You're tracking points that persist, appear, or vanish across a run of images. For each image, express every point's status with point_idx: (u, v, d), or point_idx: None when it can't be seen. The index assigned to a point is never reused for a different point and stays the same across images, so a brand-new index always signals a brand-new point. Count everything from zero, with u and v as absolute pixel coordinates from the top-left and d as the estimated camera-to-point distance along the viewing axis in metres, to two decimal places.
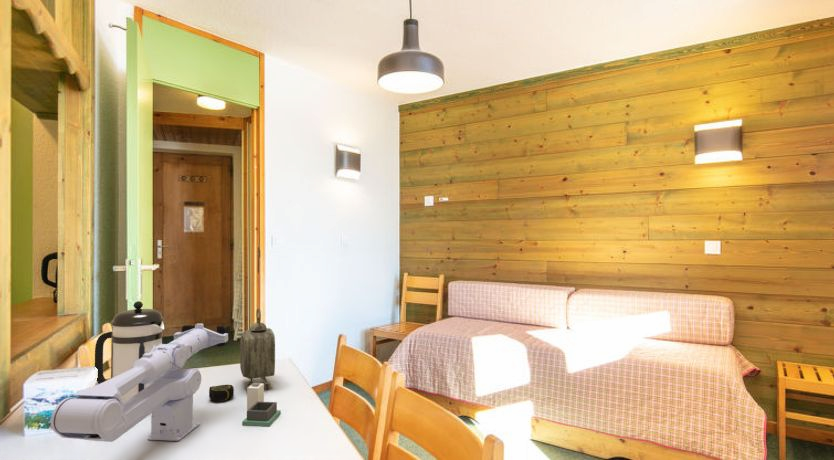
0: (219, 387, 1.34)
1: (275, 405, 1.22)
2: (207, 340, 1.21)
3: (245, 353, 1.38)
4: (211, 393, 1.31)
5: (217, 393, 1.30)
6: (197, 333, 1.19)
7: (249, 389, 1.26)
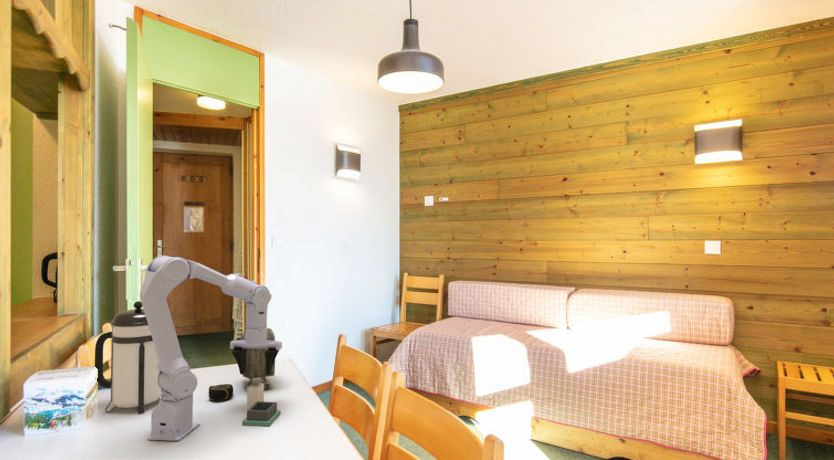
0: (218, 386, 1.34)
1: (275, 405, 1.22)
2: (265, 339, 1.28)
3: None
4: (210, 392, 1.32)
5: (216, 392, 1.31)
6: None
7: (249, 389, 1.26)
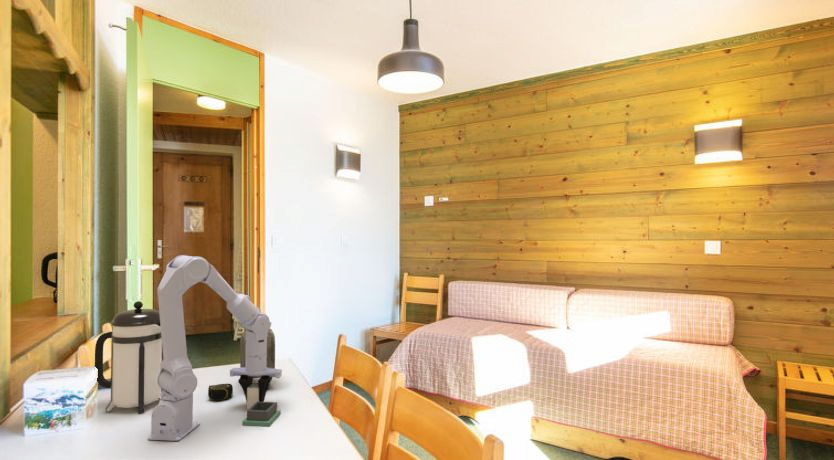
0: (218, 386, 1.35)
1: (275, 405, 1.22)
2: (265, 367, 1.28)
3: (245, 353, 1.38)
4: (210, 392, 1.32)
5: (216, 392, 1.31)
6: None
7: (249, 389, 1.27)
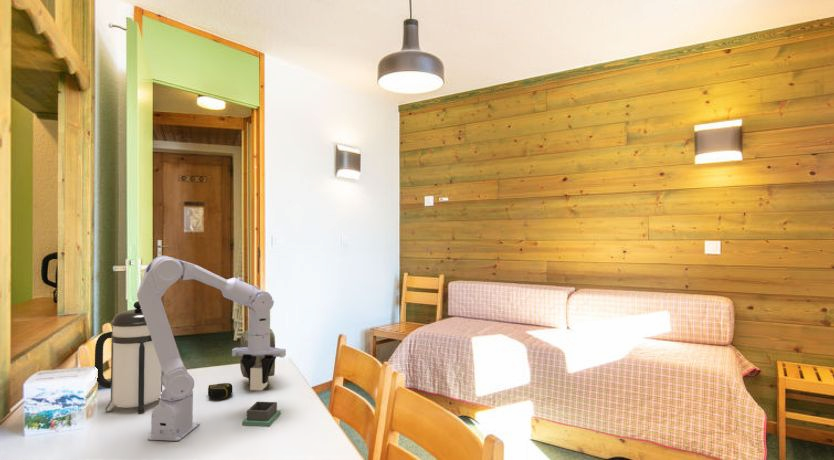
0: (218, 385, 1.35)
1: (275, 405, 1.22)
2: (268, 346, 1.24)
3: None
4: (210, 391, 1.32)
5: (216, 391, 1.32)
6: None
7: (252, 369, 1.23)
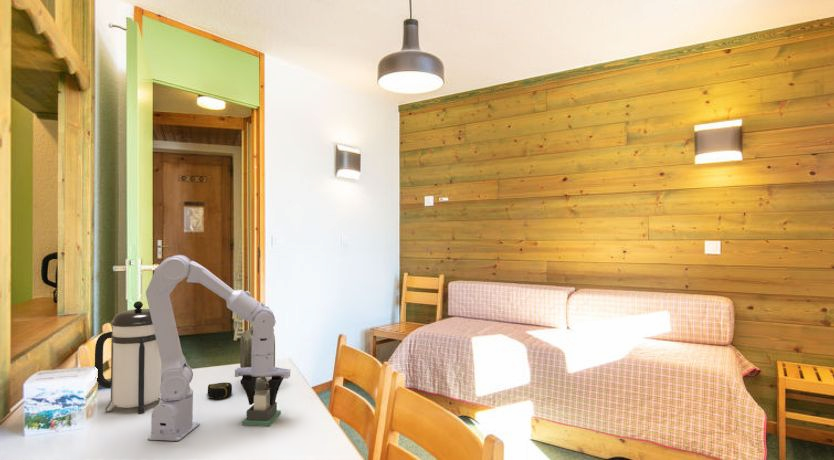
0: (217, 385, 1.36)
1: (275, 405, 1.22)
2: (272, 366, 1.19)
3: (245, 353, 1.38)
4: (209, 391, 1.33)
5: (215, 391, 1.32)
6: None
7: (256, 397, 1.18)
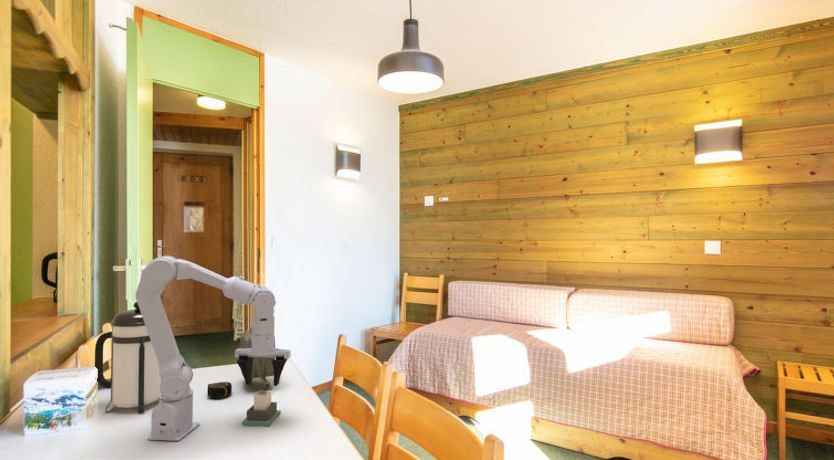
0: (217, 384, 1.36)
1: (275, 405, 1.22)
2: (272, 347, 1.19)
3: None
4: (209, 390, 1.33)
5: (215, 390, 1.33)
6: None
7: (256, 397, 1.18)
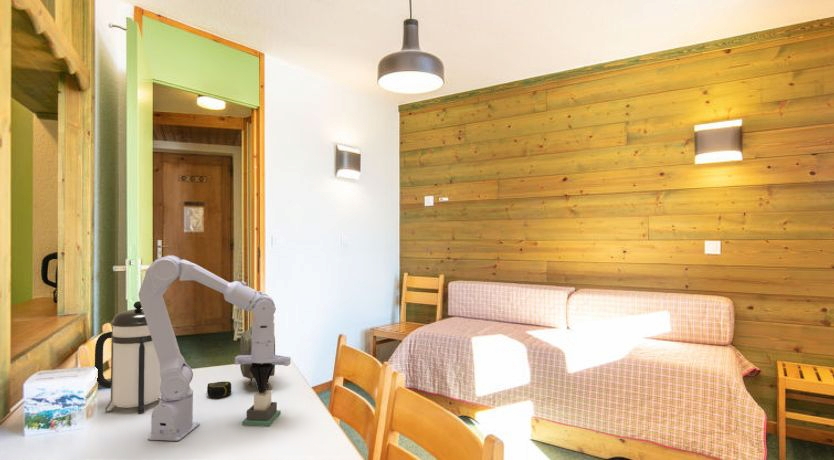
0: (217, 384, 1.37)
1: (275, 405, 1.22)
2: (272, 354, 1.19)
3: (245, 353, 1.38)
4: (209, 389, 1.34)
5: (215, 389, 1.33)
6: None
7: (256, 397, 1.18)
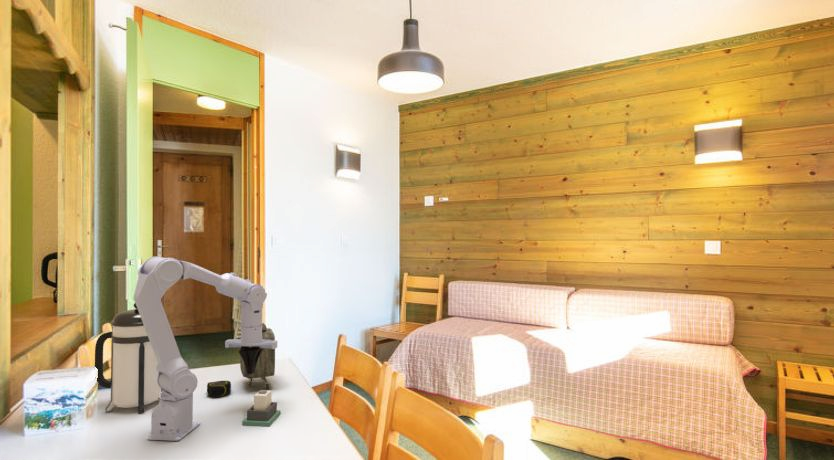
0: (217, 383, 1.38)
1: (275, 405, 1.22)
2: (260, 338, 1.27)
3: None
4: (209, 389, 1.35)
5: (215, 389, 1.34)
6: None
7: (256, 397, 1.18)
